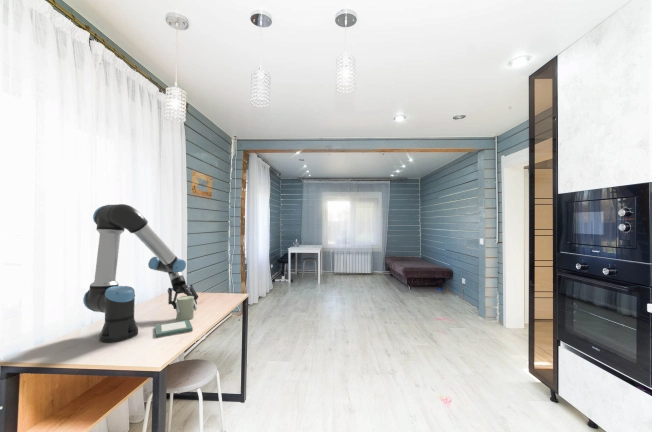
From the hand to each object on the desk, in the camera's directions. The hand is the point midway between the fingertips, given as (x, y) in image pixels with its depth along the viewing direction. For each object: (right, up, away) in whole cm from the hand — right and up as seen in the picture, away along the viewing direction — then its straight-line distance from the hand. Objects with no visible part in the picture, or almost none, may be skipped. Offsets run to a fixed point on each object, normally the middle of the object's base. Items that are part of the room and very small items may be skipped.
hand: (187, 311), depth 165 cm
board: (+1, -4, -17) cm, 17 cm away
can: (-2, -5, +2) cm, 6 cm away
